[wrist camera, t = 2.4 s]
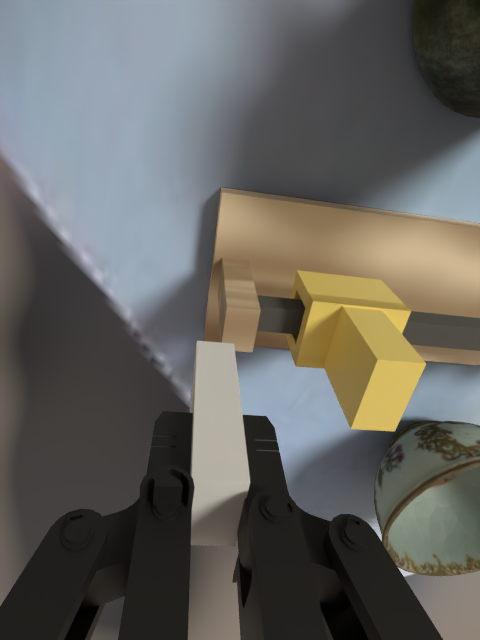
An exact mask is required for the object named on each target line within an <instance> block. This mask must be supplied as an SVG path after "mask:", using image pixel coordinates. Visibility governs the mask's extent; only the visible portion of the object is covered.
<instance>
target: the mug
mask: <svg viewBox="0 0 480 640" xmlns="http://www.w3.org/2000/svg"><path fill="white" fill-rule="evenodd" d="M413 39H414V46H415V53H416V57H417V60H418V64H419V67H420V70H421V72H422V75H423V77H424V79H425V81H426V83H427V85H428V86H429V87H430V89H431V90H432V92H433V93H434V95H435V96H436V97H437V98H438V99H439V100H440V101H441V102H443V103H444V104H445V105H446V106H448V107H449V108H451V109H452V110H454V111H456V112H458V113H461V114H463V115H466V116H469V117H476V118H480V0H415V2H414V10H413Z"/></svg>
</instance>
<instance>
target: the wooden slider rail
mask: <svg viewBox="0 0 480 640" xmlns="http://www.w3.org/2000/svg"><path fill="white" fill-rule="evenodd" d="M297 270H299V271H308V272H316V273H325V274H334V275H343V276H352V277H360V278H369V279H378V280H382V281H383V282H384V283H385V284H386V285H387V286H388V287H389V289H390V290H391V291H392V292H393V293H394V294H395V295H396V296H397V297H398V298H399V299H400V300H401V301H402V302H403V303H404V304H405V305H406V306H407V307H408V308H409V309H410V310H411V311H416V312H426V313H436V314H445V315H455V316H465V317H474V318H480V223H473V222H466V221H459V220H452V219H445V218H438V217H431V216H423V215H416V214H409V213H402V212H395V211H388V210H380V209H373V208H366V207H359V206H352V205H345V204H337V203H330V202H323V201H316V200H309V199H302V198H294V197H287V196H280V195H273V194H266V193H259V192H251V191H244V190H237V189H230V188H223V187H221V193H220V201H219V210H218V218H217V227H216V235H215V243H214V252H213V260H212V268H211V277H210V285H209V293H208V302H207V310H206V318H205V327H204V341H207V342H219V343H231V344H234V347H235V351H241V352H253V347H254V346H257V347H268V348H280V349H290V348H289V345H288V342H287V339H286V336H285V333H274V332H263V331H257V327H258V322H259V317H260V312H261V309H260V305H259V301H258V297H257V295H261V296H271V297H281V298H291V293H292V289H293V285H294V280H295V276H296V272H297ZM411 346H412V347H413V348H414V349H415V351H416V352H417V353H418V354H419V355H420V357H421V358H422V359H423V360H424V361H433V362H445V363H457V364H468V365H480V351H473V350H462V349H451V348H440V347H429V346H418V345H411Z"/></svg>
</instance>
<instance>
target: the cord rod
mask: <svg viewBox="0 0 480 640" xmlns="http://www.w3.org/2000/svg"><path fill="white" fill-rule="evenodd" d="M257 297H258V301H259V305H260V309H261V312H260V317H259V322H258V327H257V331H263V332H274V333H286V334H297V335H299V331H300V327H301V323H302V319H303V315H304V312H305V306H304V304H303V302H302V300H300V299H290V298H281V297H271V296H261V295H257ZM402 335H403V336H404V337H405V339H406V340H407V341H408V342H409V343H410V345H418V346H429V347H440V348H451V349H462V350H473V351H480V318H474V317H465V316H455V315H445V314H436V313H426V312H416V311H411V313H410V316H409V318H408V321H407V323H406V326H405V328H404V330H403V333H402Z"/></svg>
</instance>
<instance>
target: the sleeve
mask: <svg viewBox="0 0 480 640" xmlns="http://www.w3.org/2000/svg"><path fill="white" fill-rule="evenodd" d="M290 299H300V300H302V302H303V304H304V306H305V312H304V315H303V319H302V323H301V327H300V331H299V335H297V334H286V333H285V336H286V339H287V342H288V345H289V348H290V351H291V354H292V357H293V360H294V363H295V366H299V367H312V368H324V369H325V371H326V373H327V375H328V378H329V380H330V382H331V385H332V387H333V389H334V392H335V394H336V396H337V398H338V401H339V403H340V405H341V408H342V410H343V412H344V415H345V417H346V419H347V421H348V424H349V426H350V428H351V429H360V430H377V431H394V432H395V430H396V428H397V426H398V424H399V421H400V419H401V417H402V415H403V413H404V411H405V409H406V406H407V404H408V402H409V400H410V398H411V396H412V394H413V391H414V389H415V387H416V385H417V383H418V381H419V378H420V376H421V374H422V372H423V370H424V368H425V366H426V363H425V361H424V360H423V359H422V358H421V357H420V355H419V354H418V353H417V352H416V351H415V349H414V348H413V347H412V346H411V345H410V343H409V342H408V341H407V340H406V339H405V337H404V336H403V335H402V333H403V330H404V328H405V326H406V323H407V321H408V318H409V316H410V313H411V310H410V309H409V308H408V307H407V306H406V305H405V304H404V303H403V302H402V301H401V300H400V299H399V298H398V297H397V296H396V295H395V294H394V293H393V292H392V291H391V290H390V289H389V287H388V286H387V285H386V284H385V283H384V282H383V281H382V280H378V279H369V278H360V277H352V276H343V275H334V274H325V273H316V272H308V271H299V270H297V272H296V276H295V280H294V285H293V289H292V293H291V298H290Z"/></svg>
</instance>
